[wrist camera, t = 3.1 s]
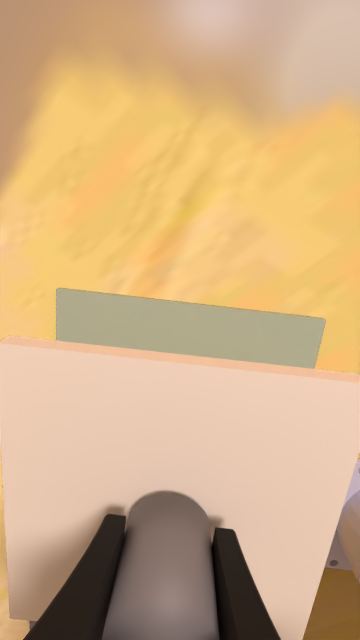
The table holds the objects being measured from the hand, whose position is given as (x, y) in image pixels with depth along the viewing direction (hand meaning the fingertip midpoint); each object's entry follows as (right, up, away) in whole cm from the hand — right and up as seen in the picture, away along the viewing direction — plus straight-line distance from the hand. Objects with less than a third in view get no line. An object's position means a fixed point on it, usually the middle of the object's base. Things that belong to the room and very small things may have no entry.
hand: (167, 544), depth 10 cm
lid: (0, 0, +2) cm, 2 cm away
